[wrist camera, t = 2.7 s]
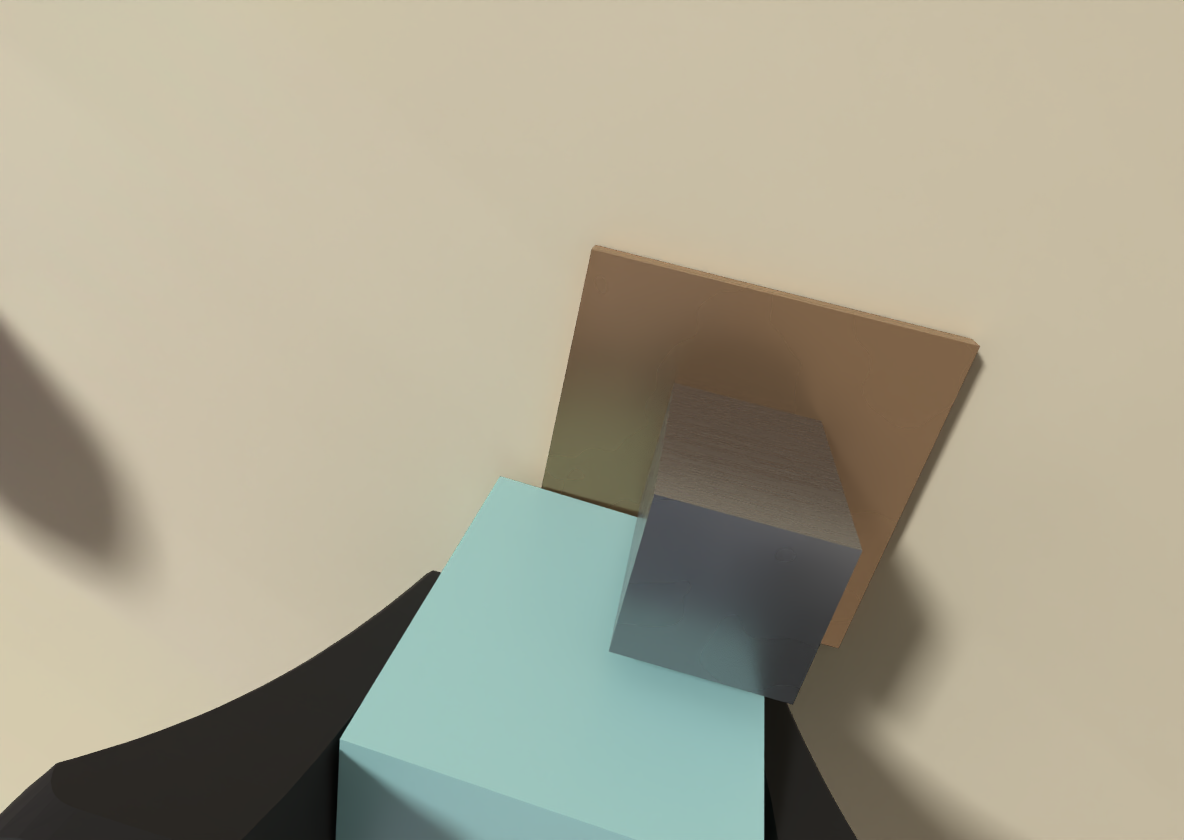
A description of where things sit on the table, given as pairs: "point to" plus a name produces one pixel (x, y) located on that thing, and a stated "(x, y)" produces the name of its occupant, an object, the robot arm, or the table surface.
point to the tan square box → (743, 459)
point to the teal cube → (543, 703)
